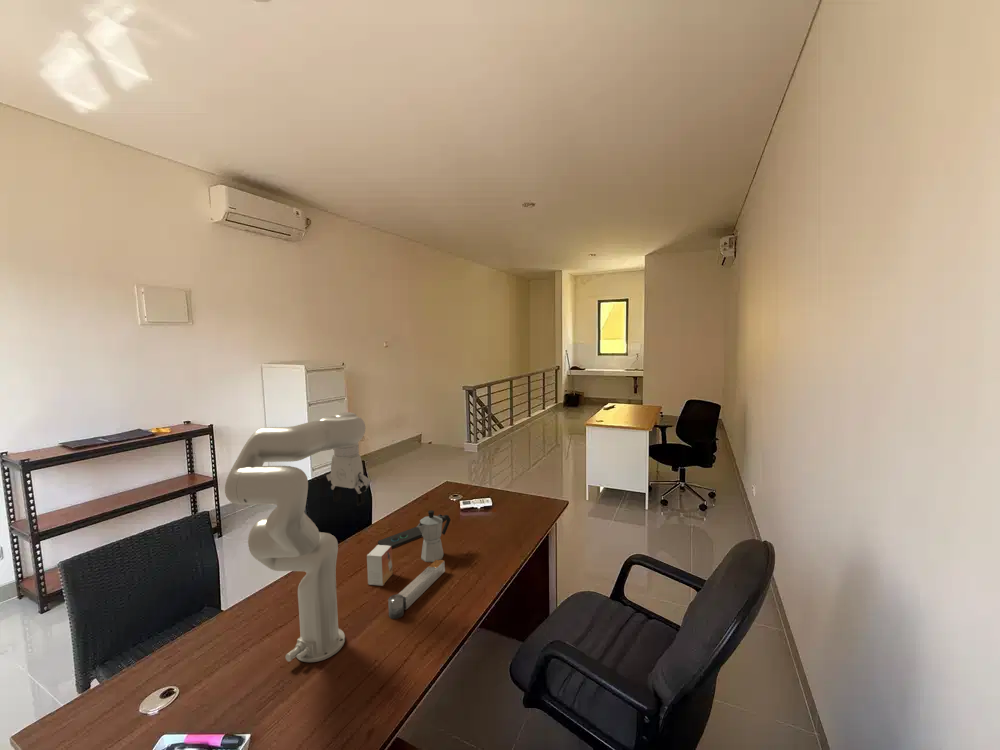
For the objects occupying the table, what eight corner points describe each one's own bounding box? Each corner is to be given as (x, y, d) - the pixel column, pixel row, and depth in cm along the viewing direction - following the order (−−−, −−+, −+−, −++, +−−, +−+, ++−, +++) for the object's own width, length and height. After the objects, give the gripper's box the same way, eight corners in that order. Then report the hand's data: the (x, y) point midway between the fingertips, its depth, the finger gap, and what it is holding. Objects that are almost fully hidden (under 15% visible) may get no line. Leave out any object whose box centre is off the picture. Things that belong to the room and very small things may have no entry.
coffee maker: (424, 567, 158) (422, 519, 156) (412, 558, 165) (410, 512, 163) (457, 553, 168) (456, 508, 166) (444, 545, 174) (443, 502, 173)
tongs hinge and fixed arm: (397, 620, 128) (397, 604, 128) (385, 617, 130) (385, 601, 129) (446, 572, 154) (445, 559, 154) (435, 570, 156) (435, 556, 155)
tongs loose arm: (406, 609, 133) (405, 597, 132) (402, 608, 133) (401, 595, 133) (444, 571, 154) (444, 560, 154) (440, 570, 155) (440, 559, 154)
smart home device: (376, 540, 177) (418, 525, 191) (377, 544, 177) (418, 529, 191) (387, 547, 171) (429, 531, 185) (387, 551, 171) (429, 535, 185)
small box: (382, 586, 146) (381, 556, 145) (367, 584, 147) (366, 555, 146) (393, 573, 154) (392, 545, 153) (378, 572, 155) (377, 544, 154)
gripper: (317, 451, 140) (320, 502, 141) (359, 456, 133) (362, 510, 134) (334, 446, 147) (337, 495, 148) (375, 450, 140) (378, 501, 141)
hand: (349, 502), depth 141 cm, fingers open, 9 cm apart
